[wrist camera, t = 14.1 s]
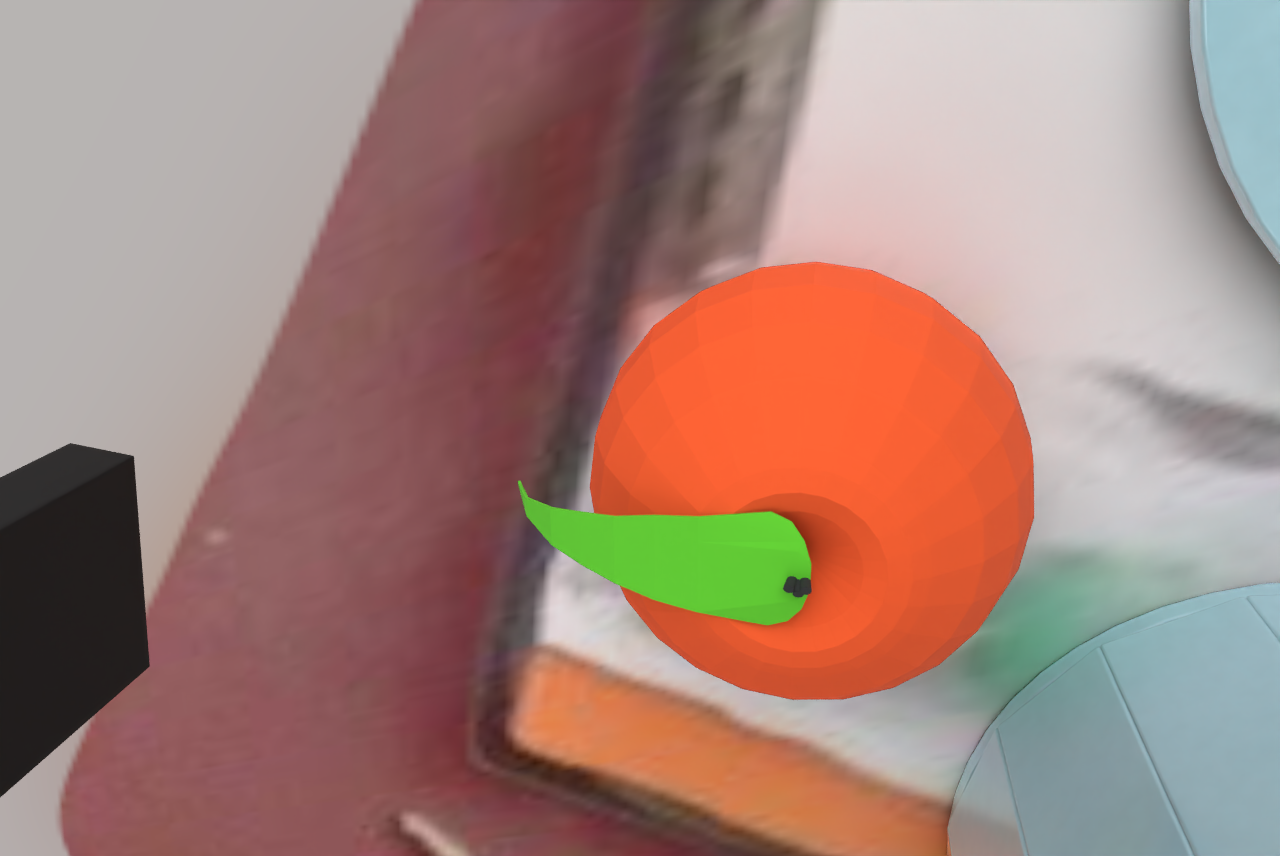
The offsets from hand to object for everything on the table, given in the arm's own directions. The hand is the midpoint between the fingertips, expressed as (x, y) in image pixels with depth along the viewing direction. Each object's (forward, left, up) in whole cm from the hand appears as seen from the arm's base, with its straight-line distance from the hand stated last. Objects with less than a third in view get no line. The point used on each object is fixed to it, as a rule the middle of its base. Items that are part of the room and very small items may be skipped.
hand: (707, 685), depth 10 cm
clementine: (0, 0, -10) cm, 10 cm away
